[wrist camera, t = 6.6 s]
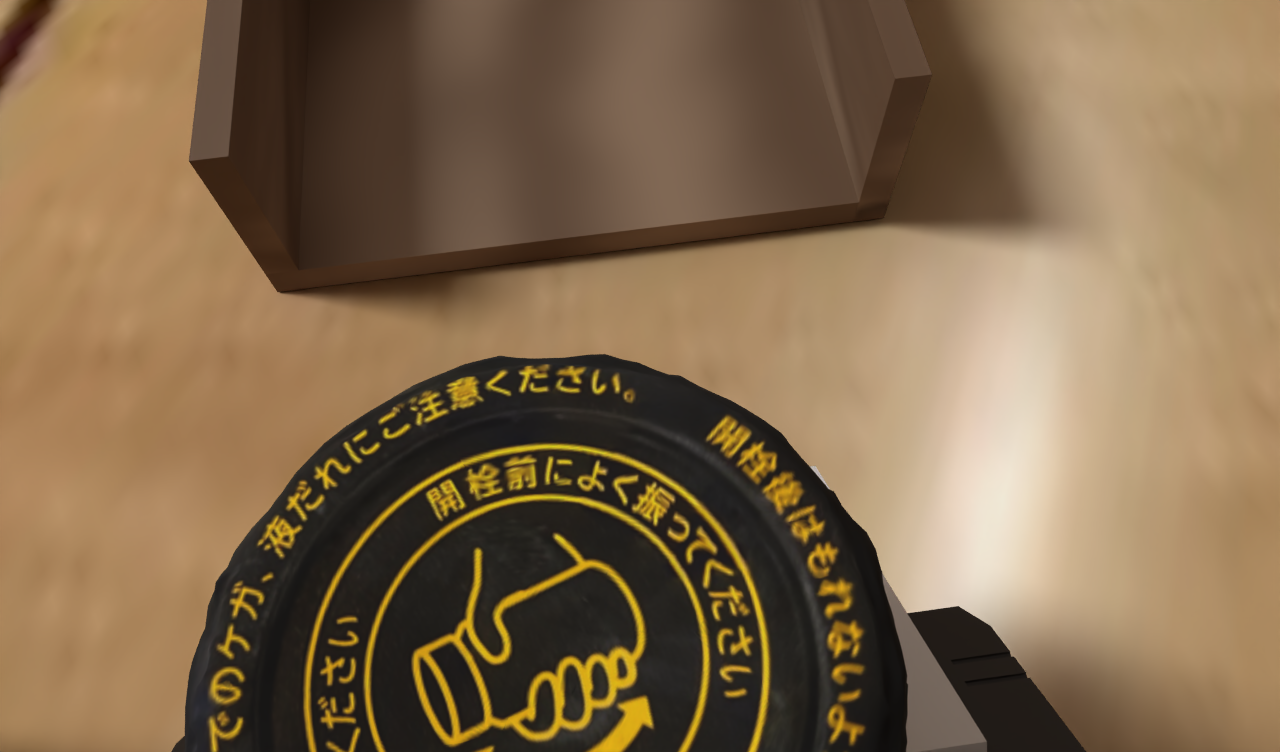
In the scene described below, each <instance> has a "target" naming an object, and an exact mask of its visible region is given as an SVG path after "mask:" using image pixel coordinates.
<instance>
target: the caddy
mask: <svg viewBox="0 0 1280 752" xmlns="http://www.w3.org/2000/svg"><path fill="white" fill-rule="evenodd" d="M931 76H932V73H931V70H930V68H929V65H928V62H927V60H926V57H925V54H924V51H923V49H922V46H921V43H920V41H919V38H918V35H917V33H916V30H915V27H914V25H913V22H912V19H911V16H910V14H909V11H908V8H907V6H906V3H905V0H207V8H206V17H205V25H204V34H203V43H202V52H201V60H200V69H199V78H198V87H197V95H196V104H195V113H194V121H193V130H192V139H191V148H190V156H189V162H190V163H191V165H192V166H193V168H194V169H195V171H196V172H197V174H198V175H199V176H200V178H201V179H202V181H203V182H204V184H205V185H206V187H207V188H208V190H209V191H210V193H211V194H212V196H213V197H214V199H215V200H216V202H217V203H218V205H219V206H220V208H221V209H222V211H223V212H224V213H225V215H226V216H227V218H228V219H229V221H230V222H231V224H232V225H233V227H234V228H235V230H236V231H237V233H238V234H239V236H240V237H241V239H242V240H243V242H244V243H245V245H246V246H247V248H248V249H249V250H250V252H251V253H252V255H253V256H254V258H255V259H256V261H257V262H258V264H259V265H260V267H261V268H262V270H263V271H264V273H265V274H266V276H267V277H268V279H269V280H270V282H271V283H272V284H273V286H274V287H275V289H276V290H277V292H281V291H290V290H298V289H306V288H314V287H322V286H330V285H339V284H347V283H355V282H363V281H371V280H380V279H388V278H396V277H404V276H412V275H420V274H429V273H437V272H445V271H453V270H461V269H470V268H478V267H486V266H494V265H502V264H511V263H519V262H527V261H535V260H543V259H551V258H560V257H568V256H576V255H584V254H592V253H601V252H609V251H617V250H625V249H633V248H642V247H650V246H658V245H666V244H674V243H682V242H691V241H699V240H707V239H715V238H723V237H732V236H740V235H748V234H756V233H764V232H772V231H781V230H789V229H797V228H805V227H813V226H822V225H830V224H838V223H846V222H854V221H863V220H871V219H879V218H884V215H885V212H886V209H887V206H888V204H889V201H890V198H891V195H892V192H893V189H894V186H895V183H896V180H897V177H898V174H899V171H900V168H901V165H902V162H903V159H904V156H905V153H906V150H907V147H908V144H909V141H910V138H911V135H912V132H913V129H914V126H915V123H916V121H917V118H918V115H919V112H920V109H921V106H922V103H923V100H924V97H925V94H926V91H927V88H928V85H929V82H930V79H931Z"/></svg>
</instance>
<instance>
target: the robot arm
mask: <svg viewBox="0 0 1280 752" xmlns="http://www.w3.org/2000/svg"><path fill="white" fill-rule="evenodd" d="M810 468H811V469H812V470H813V471H814V472H815V473H816V474H817V476H818V477H819V478H820V479H821V480H822V481H823V483H824V484H825V485H826V486H827V484H826V482H825V481H824V479H823V478H822V476H821V474H820V473H819V471H818V470H817V468H816V466H811V467H810ZM827 488H828V489H829V487H828V486H827ZM882 576H883V574H882ZM883 584H884V588H885V592H886V595H887V599H888V602H889V604H890V607H891V610H892V613H893V617H894V622H895V627H896V631H897V634H898V637H899V641H900V644H901V648H902V652H903V657H904V662H905V666H906V671H907V684H908V698H907V704H908V716H907V723H906V733H907V747H906V752H1086V751H1085V750H1084V748H1083V747H1082V746H1081V744H1080V743H1079V742H1078V740H1077V739H1076V738H1075V736H1074V735H1073V734H1072V733H1071V731H1070V730H1069V729H1068V727H1067V726H1066V725H1065V723H1064V722H1063V721H1062V719H1061V718H1060V717H1059V715H1058V714H1057V713H1056V712H1055V710H1054V709H1053V708H1052V706H1051V705H1050V704H1049V702H1048V701H1047V700H1046V698H1045V697H1044V696H1043V694H1042V693H1041V692H1040V690H1039V689H1038V688H1037V687H1036V685H1035V684H1034V683H1033V681H1032V680H1031V679H1030V678H1027V676H1026V672H1025V671H1024V669H1023V668H1022V667H1021V665H1020V664H1019V663H1018V662H1017V660H1016V659H1015V658H1014V657H1011V655H1010V651H1009V650H1008V648H1007V647H1006V646H1005V644H1004V643H1003V642H1002V640H1001V639H1000V638H999V637H998V635H997V634H996V633H995V631H994V630H993V629H992V627H991V626H990V625H988V624H986V623H985V622H983V621H981V620H980V619H978V618H977V617H975V616H973V615H972V614H970V613H968V612H967V611H965V610H963V609H962V608H960V607H959V606H957V607H950V608H943V609H935V610H928V611H921V612H914V613H906V611H905V609H904V608H903V606H902V604H901V603H900V601H899V600H898V598H897V596H896V595H895V593H894V592H893V590H892V588H891V587H890V585H889V584H888V582H887V580H886V579H885V577H884V576H883ZM172 752H185V736H184V737H183V738H182V739H181V740H180V741H179V742H178V743H177V744H176V745H175V747H174V748H173V750H172Z"/></svg>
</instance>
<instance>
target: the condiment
mask: <svg viewBox="0 0 1280 752" xmlns="http://www.w3.org/2000/svg"><path fill="white" fill-rule="evenodd" d="M907 698H908V684H907V671H906V666H905V662H904V657H903V652H902V648H901V644H900V641H899V637H898V634H897V631H896V627H895V622H894V617H893V613H892V610H891V607H890V604H889V602H888V599H887V595H886V592H885V588H884V584H883V576H882V571H881V567H880V564H879V560H878V557H877V553H876V549H875V547H874V545H873V543H872V542H871V540H870V538H869V536H868V534H867V532H866V531H865V530H863V529H862V528H861V527H860V526H859V525H858V524H857V523H856V522H855V521H854V520H853V519H852V518H851V517H850V515H849V514H848V513H847V512H846V510H845V509H844V508H843V507H842V505H841V503H840V501H839V500H838V498H837V496H836V494H835V493H834V492H833V491H832V490H830V489H828V488H827V486H826V485H825V484H824V483H823V481H822V480H821V479H820V478H819V477H818V476H817V474H816V473H815V472H814V471H813V470H812V469H811V468H810V467H809V465H808V464H807V463H806V462H805V461H804V460H803V459H802V458H801V457H800V456H799V454H798V453H797V452H796V451H795V450H794V449H793V447H792V446H791V445H790V444H789V443H788V441H787V439H786V438H785V437H784V436H783V434H782V433H780V432H779V431H778V430H776V429H775V428H774V427H772V426H771V425H770V424H768V423H767V422H766V421H764V420H762V419H761V418H759V417H758V416H756V415H754V414H753V413H751V412H750V411H748V410H746V409H745V408H743V407H741V406H739V405H738V404H736V403H734V402H733V401H731V400H728V399H726V398H724V397H721V396H719V395H717V394H715V393H712V392H710V391H708V390H706V389H704V388H702V387H700V386H698V385H696V384H694V383H692V382H690V381H689V380H687V379H685V378H683V377H681V376H678V375H668V374H665V373H662V372H659V371H657V370H654V369H652V368H649V367H647V366H645V365H642V364H640V363H637V362H632V361H627V360H622V359H619V358H616V357H612V356H609V355H606V354H599V355H583V356H575V357H567V358H542V359H528V358H513V357H505V356H497V357H493V358H488V359H484V360H480V361H476V362H472V363H468V364H464V365H462V366H459V367H457V368H455V369H452V370H450V371H447V372H445V373H442V374H440V375H437V376H435V377H432V378H430V379H428V380H425V381H423V382H421V383H418V384H416V385H413V386H412V387H410V388H408V389H407V390H405V391H403V392H402V393H400V394H398V395H397V396H395V397H393V398H392V399H390V400H388V401H387V402H385V403H383V404H381V405H380V406H378V407H376V408H375V409H373V410H371V411H369V412H368V413H366V414H365V415H363V416H361V417H360V418H358V419H357V420H355V421H354V422H352V423H350V424H349V425H347V426H346V427H345V428H343V429H342V430H341V431H340V432H338V433H337V434H336V435H334V436H333V437H332V438H331V439H329V440H328V441H327V442H325V443H324V444H323V445H322V446H321V447H320V448H319V449H318V450H317V452H316V453H315V454H314V455H313V456H312V457H311V458H310V459H309V460H308V461H307V462H306V463H305V464H304V465H303V466H302V467H301V468H300V469H299V470H298V471H297V472H296V474H295V475H294V476H293V478H292V479H291V480H290V482H289V483H288V485H287V486H286V488H285V489H284V491H283V492H282V494H281V495H280V496H279V497H278V498H277V500H276V501H275V502H274V504H273V505H272V507H271V508H270V509H269V511H268V512H267V513H266V514H265V515H264V516H263V517H262V518H261V519H260V520H259V521H258V522H257V523H256V525H255V526H254V527H253V528H252V529H251V530H250V532H249V533H248V534H247V536H246V537H245V538H244V540H243V541H242V542H241V544H240V545H239V546H238V548H237V549H236V550H235V552H234V554H233V556H232V558H231V561H230V563H229V565H228V567H227V569H226V570H225V571H224V572H223V573H222V574H221V576H220V577H219V579H218V580H217V582H216V585H215V590H214V593H213V595H212V598H211V600H210V603H209V605H208V611H207V619H206V627H205V630H204V632H203V634H202V636H201V639H200V641H199V644H198V647H197V650H196V652H195V655H194V658H193V661H192V665H191V669H190V673H189V680H188V688H187V697H186V706H185V752H906V747H907V733H906V723H907V716H908V704H907Z"/></svg>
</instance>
